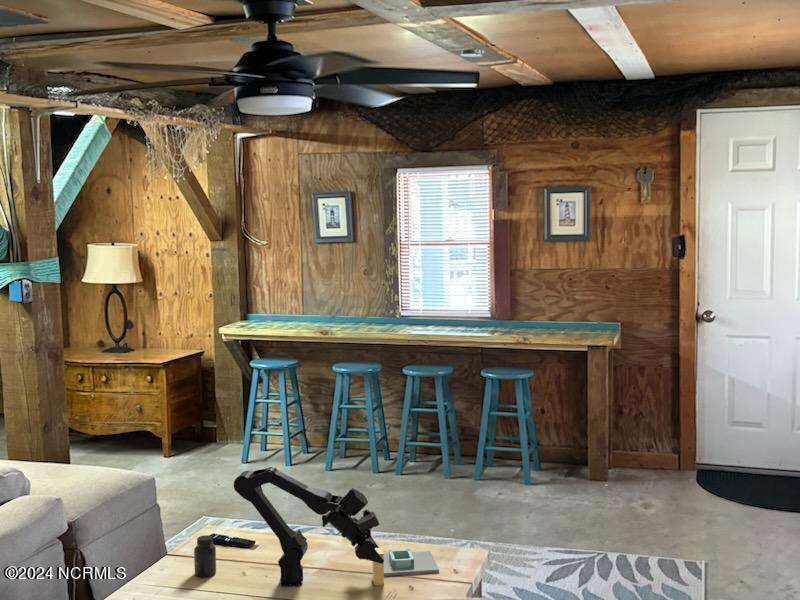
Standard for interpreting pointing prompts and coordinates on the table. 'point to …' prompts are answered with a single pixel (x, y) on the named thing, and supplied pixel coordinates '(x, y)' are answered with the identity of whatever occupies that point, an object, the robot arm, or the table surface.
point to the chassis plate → (409, 563)
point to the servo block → (378, 569)
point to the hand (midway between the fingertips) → (381, 556)
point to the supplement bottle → (205, 557)
